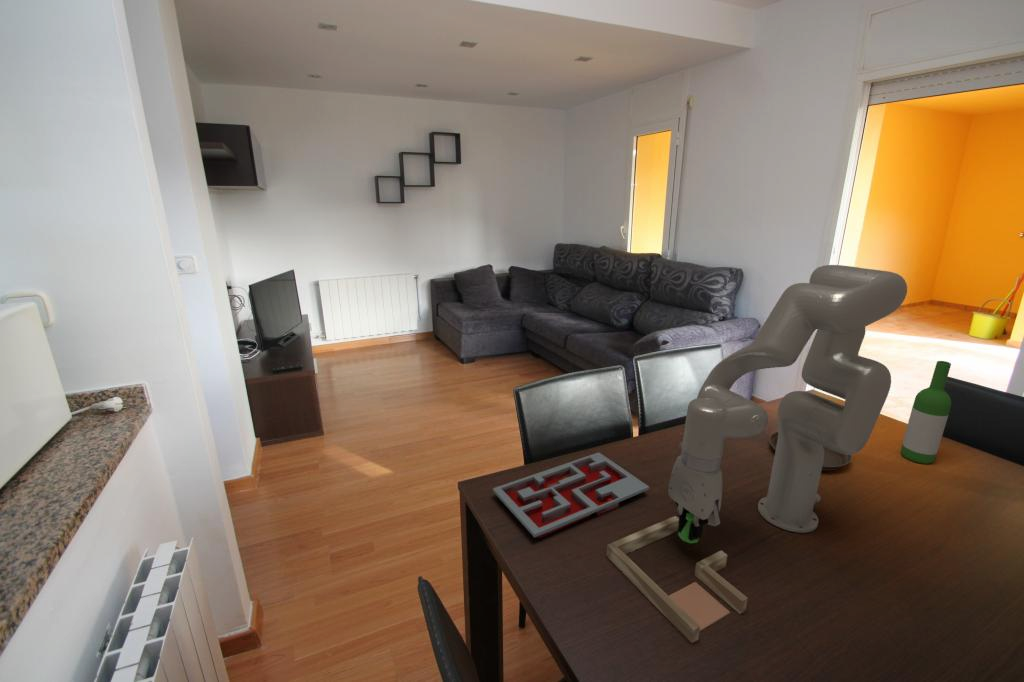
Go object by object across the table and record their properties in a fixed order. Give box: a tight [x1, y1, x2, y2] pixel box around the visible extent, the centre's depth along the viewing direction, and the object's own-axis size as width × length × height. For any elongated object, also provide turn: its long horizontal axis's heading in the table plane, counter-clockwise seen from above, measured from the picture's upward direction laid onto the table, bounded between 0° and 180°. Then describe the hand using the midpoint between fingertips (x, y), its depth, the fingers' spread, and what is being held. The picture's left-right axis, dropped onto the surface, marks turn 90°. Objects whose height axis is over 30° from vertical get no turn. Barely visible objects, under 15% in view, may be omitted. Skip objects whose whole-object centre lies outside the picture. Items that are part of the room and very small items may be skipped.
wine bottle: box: [900, 360, 952, 465], centre depth 131 cm, size 8×8×30 cm
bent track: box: [606, 515, 749, 644], centre depth 93 cm, size 20×23×3 cm
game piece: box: [677, 513, 700, 544], centre depth 98 cm, size 4×4×6 cm
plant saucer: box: [768, 431, 853, 472], centre depth 137 cm, size 21×21×3 cm
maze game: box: [492, 452, 650, 539], centre depth 118 cm, size 35×20×3 cm, turn 120°
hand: (689, 533), depth 99 cm, fingers closed on game piece, 2 cm apart
